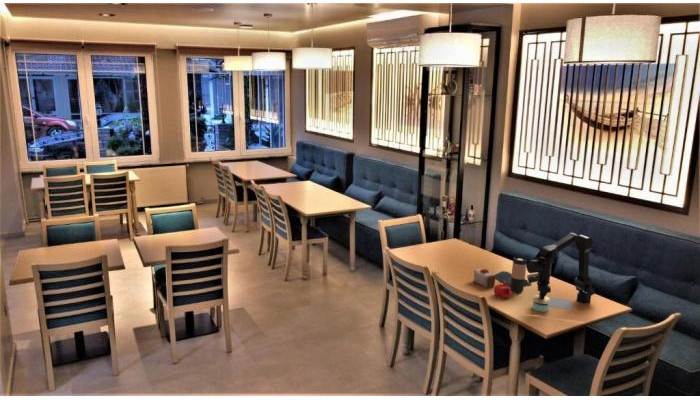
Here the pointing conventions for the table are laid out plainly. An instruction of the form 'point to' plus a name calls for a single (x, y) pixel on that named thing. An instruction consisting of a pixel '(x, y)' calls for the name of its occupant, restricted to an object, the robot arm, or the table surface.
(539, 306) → the bowl
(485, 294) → the table surface
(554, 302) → the mat
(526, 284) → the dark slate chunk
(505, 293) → the pomegranate
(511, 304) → the table surface
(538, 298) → the lid
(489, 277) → the food item
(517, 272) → the travel mug
